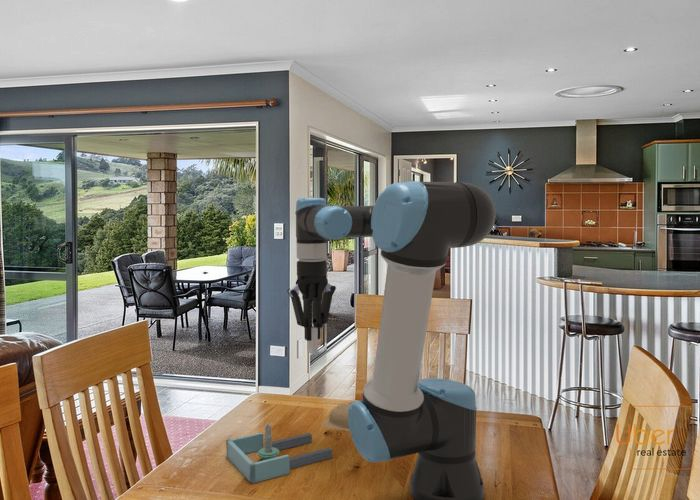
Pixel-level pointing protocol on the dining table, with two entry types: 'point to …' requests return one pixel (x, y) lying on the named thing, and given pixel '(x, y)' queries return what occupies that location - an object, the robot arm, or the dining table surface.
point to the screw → (268, 446)
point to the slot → (302, 458)
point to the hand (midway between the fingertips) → (312, 352)
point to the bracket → (258, 469)
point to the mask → (338, 417)
